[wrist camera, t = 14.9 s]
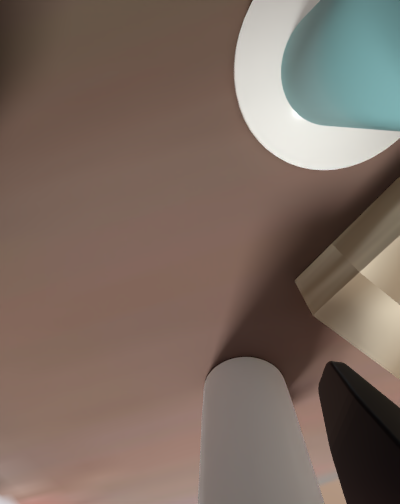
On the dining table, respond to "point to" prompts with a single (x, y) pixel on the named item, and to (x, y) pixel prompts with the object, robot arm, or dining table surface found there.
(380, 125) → the dowel
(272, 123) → the pad
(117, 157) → the dining table surface
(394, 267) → the pocket collar
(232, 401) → the mug
